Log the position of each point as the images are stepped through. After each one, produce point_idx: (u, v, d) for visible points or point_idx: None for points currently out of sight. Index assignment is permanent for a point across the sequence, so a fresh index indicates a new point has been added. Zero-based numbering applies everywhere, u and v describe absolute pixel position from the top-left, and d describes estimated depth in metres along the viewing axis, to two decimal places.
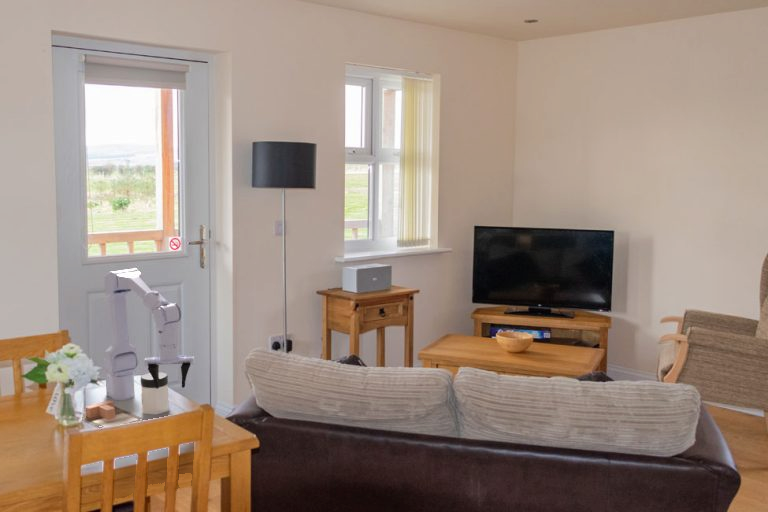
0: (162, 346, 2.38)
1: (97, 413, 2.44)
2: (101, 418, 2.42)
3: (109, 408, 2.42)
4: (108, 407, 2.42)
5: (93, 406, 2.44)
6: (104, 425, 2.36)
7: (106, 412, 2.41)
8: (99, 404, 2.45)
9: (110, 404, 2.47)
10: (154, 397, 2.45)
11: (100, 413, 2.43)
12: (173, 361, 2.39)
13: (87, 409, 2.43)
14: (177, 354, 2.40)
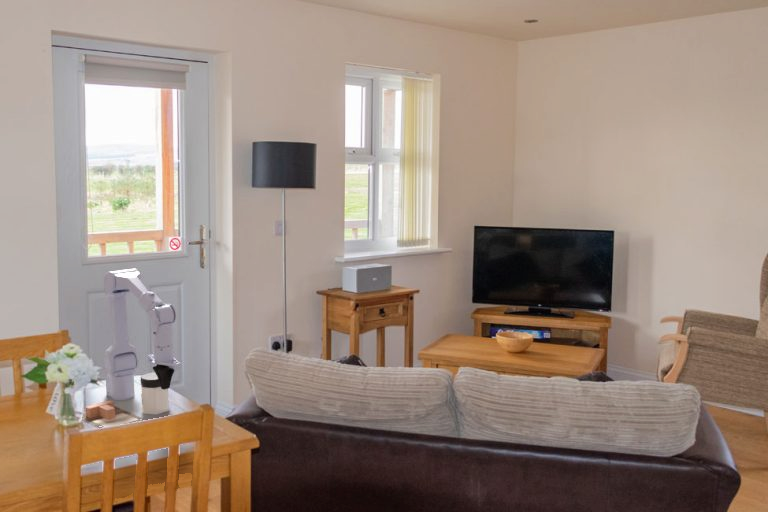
0: None
1: (97, 413, 2.44)
2: (101, 418, 2.42)
3: (109, 408, 2.42)
4: (108, 407, 2.42)
5: (93, 406, 2.44)
6: (104, 425, 2.36)
7: (106, 412, 2.41)
8: (99, 404, 2.45)
9: (110, 404, 2.47)
10: (154, 397, 2.45)
11: (100, 413, 2.43)
12: (159, 363, 2.37)
13: (87, 409, 2.43)
14: (165, 357, 2.37)
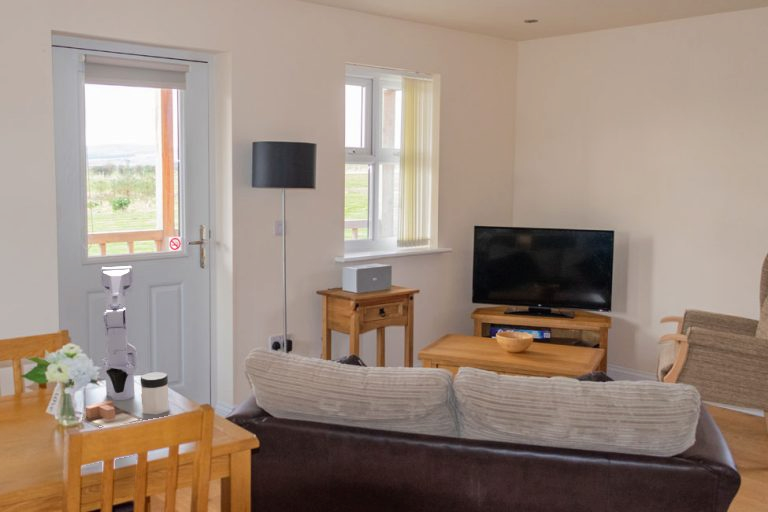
0: (107, 349, 2.38)
1: (97, 413, 2.44)
2: (101, 418, 2.42)
3: (109, 408, 2.42)
4: (108, 407, 2.42)
5: (93, 406, 2.44)
6: (104, 425, 2.36)
7: (106, 412, 2.41)
8: (99, 404, 2.45)
9: (110, 404, 2.47)
10: (154, 397, 2.45)
11: (100, 413, 2.43)
12: (112, 367, 2.37)
13: (87, 409, 2.43)
14: (118, 361, 2.37)
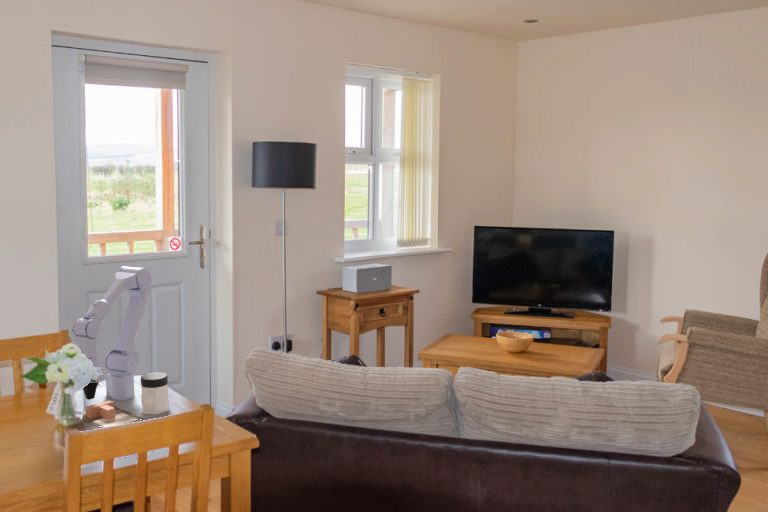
0: None
1: (97, 413, 2.44)
2: (101, 418, 2.42)
3: (109, 408, 2.42)
4: (108, 407, 2.42)
5: (93, 406, 2.44)
6: (104, 425, 2.36)
7: (106, 412, 2.41)
8: (99, 404, 2.45)
9: (110, 404, 2.47)
10: (154, 397, 2.45)
11: (100, 413, 2.43)
12: None
13: (87, 409, 2.43)
14: None
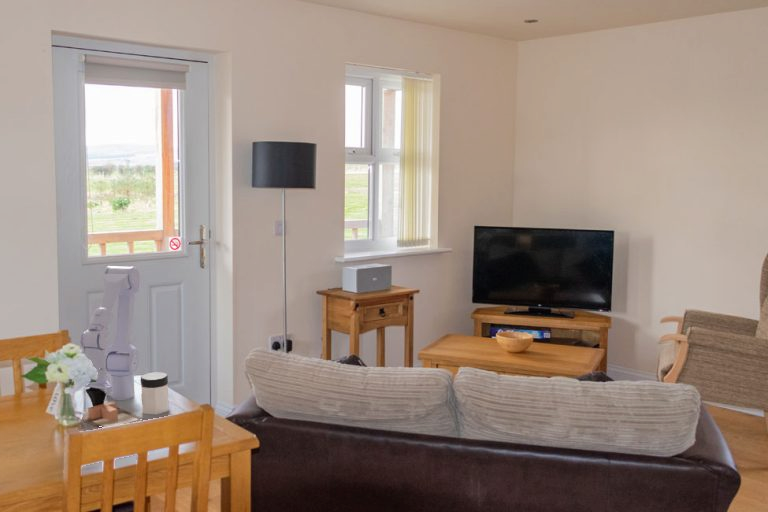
0: None
1: (99, 414, 2.43)
2: (101, 418, 2.42)
3: (111, 409, 2.41)
4: (110, 408, 2.41)
5: (95, 407, 2.43)
6: (104, 425, 2.36)
7: (108, 413, 2.40)
8: (102, 405, 2.44)
9: (113, 405, 2.46)
10: (154, 397, 2.45)
11: (103, 414, 2.42)
12: (91, 386, 2.42)
13: (89, 410, 2.42)
14: (97, 380, 2.42)
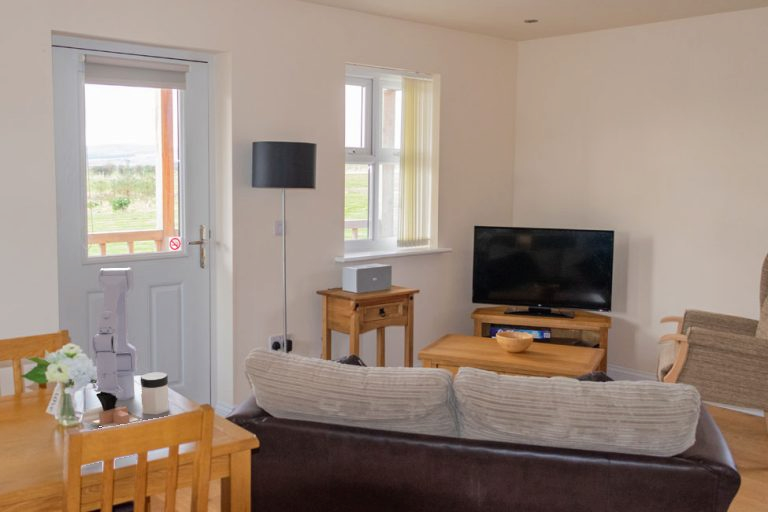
0: (97, 373, 2.39)
1: (111, 419, 2.39)
2: None
3: (123, 414, 2.37)
4: (122, 413, 2.37)
5: (107, 411, 2.39)
6: (104, 425, 2.36)
7: (120, 418, 2.36)
8: (113, 410, 2.40)
9: (124, 410, 2.42)
10: (154, 397, 2.45)
11: (114, 419, 2.38)
12: (102, 390, 2.38)
13: (101, 415, 2.38)
14: (108, 384, 2.38)
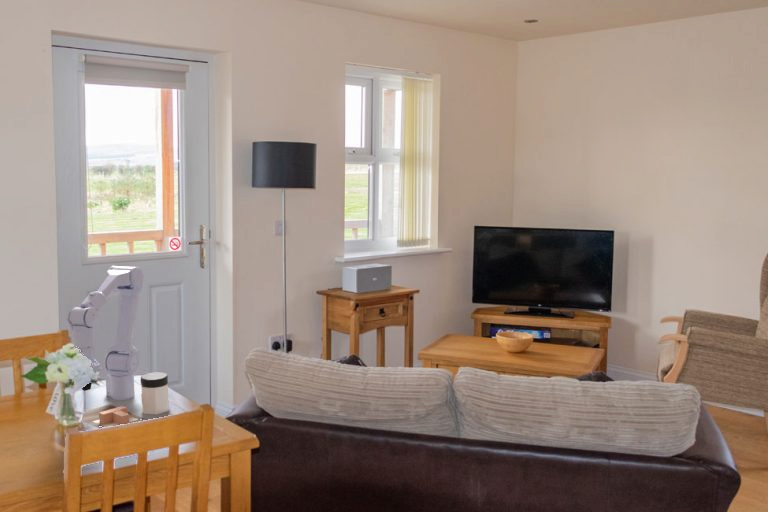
0: None
1: (111, 419, 2.39)
2: None
3: (123, 414, 2.37)
4: (122, 413, 2.37)
5: (107, 411, 2.39)
6: (104, 425, 2.36)
7: (120, 418, 2.36)
8: (113, 410, 2.40)
9: (124, 410, 2.42)
10: (154, 397, 2.45)
11: (114, 419, 2.38)
12: None
13: (101, 415, 2.38)
14: None
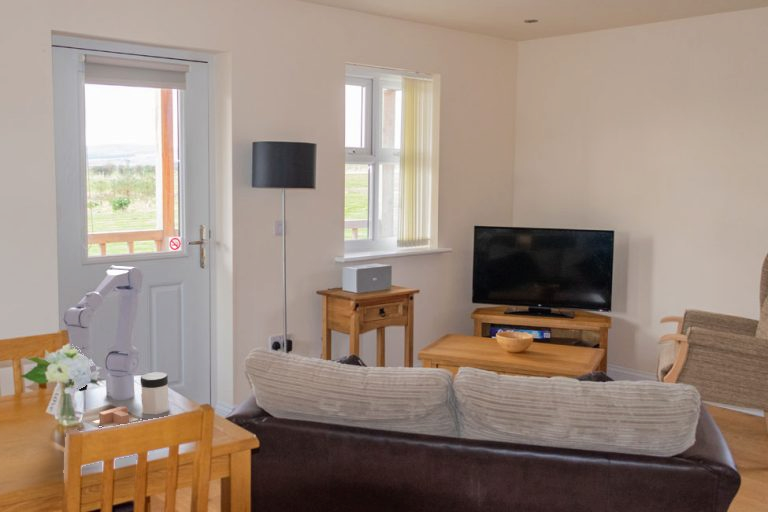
0: None
1: (111, 419, 2.39)
2: None
3: (123, 414, 2.37)
4: (122, 413, 2.37)
5: (107, 411, 2.39)
6: (104, 425, 2.36)
7: (120, 418, 2.36)
8: (113, 410, 2.40)
9: (124, 410, 2.42)
10: (154, 397, 2.45)
11: (114, 419, 2.38)
12: None
13: (101, 415, 2.38)
14: None
